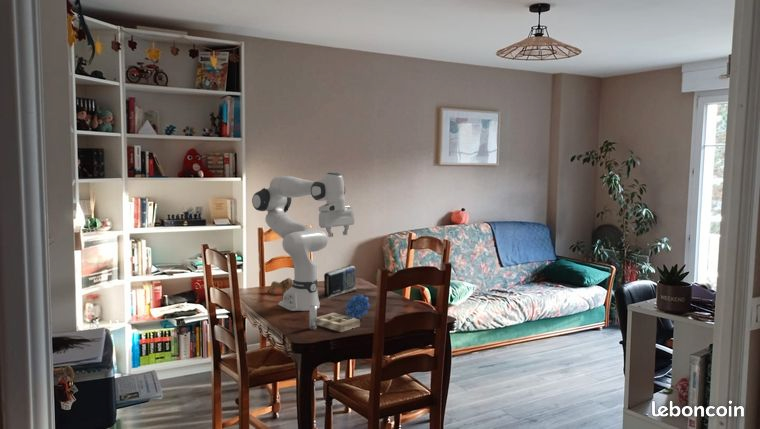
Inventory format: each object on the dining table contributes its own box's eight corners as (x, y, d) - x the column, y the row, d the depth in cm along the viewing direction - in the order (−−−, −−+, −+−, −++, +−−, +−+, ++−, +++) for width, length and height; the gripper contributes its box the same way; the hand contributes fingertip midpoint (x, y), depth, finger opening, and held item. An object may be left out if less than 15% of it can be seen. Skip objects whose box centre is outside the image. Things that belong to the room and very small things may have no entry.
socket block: (314, 324, 255) (314, 317, 254) (333, 318, 264) (333, 312, 263) (341, 332, 244) (341, 324, 243) (360, 326, 253) (360, 319, 252)
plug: (308, 328, 249) (308, 306, 248) (313, 326, 251) (313, 304, 250) (312, 329, 246) (313, 307, 246) (318, 328, 249) (318, 306, 248)
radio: (327, 298, 303) (327, 271, 301) (317, 295, 309) (317, 268, 307) (359, 291, 319) (359, 266, 317) (349, 289, 325) (349, 263, 323)
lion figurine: (293, 293, 313) (293, 277, 312) (290, 295, 308) (290, 279, 307) (268, 291, 316) (268, 276, 315) (265, 294, 310) (265, 278, 309)
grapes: (369, 316, 269) (369, 291, 268) (370, 320, 262) (370, 295, 261) (344, 316, 267) (344, 292, 266) (345, 320, 261) (345, 295, 259)
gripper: (347, 205, 274) (348, 234, 274) (315, 208, 259) (317, 238, 259) (356, 205, 270) (358, 233, 270) (325, 207, 254) (327, 238, 255)
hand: (338, 236), depth 264 cm, fingers open, 8 cm apart
